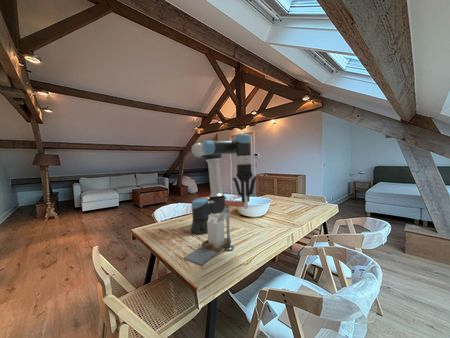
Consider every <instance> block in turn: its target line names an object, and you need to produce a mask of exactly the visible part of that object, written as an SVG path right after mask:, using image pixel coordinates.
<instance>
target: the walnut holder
mask: <svg viewBox="0 0 450 338" xmlns="http://www.w3.org/2000/svg"><path fill="white" fill-rule="evenodd" d="M230 243H231V244H232V239H231V238H230ZM225 246H227V237H225V242H224V243H223V244H221V245H220V246H214V245H211V244H208V239H206V240H205V241H203V242H202V243H201V247H202V248H205V249H208V250H211V251H214V252H217V253H220V252H222V251H223V250H225Z"/></svg>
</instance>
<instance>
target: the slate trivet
mask: <svg viewBox="0 0 450 338" xmlns="http://www.w3.org/2000/svg"><path fill="white" fill-rule="evenodd" d="M217 255H219V252H216V251H213V250H209V249H206V248H203V247H202V246H200V247H198V248H196V249H195V250H193V251H192V252H190V253H188V254H187V255H185V256H184V257H183V259H184V260H186V261H189V262H192V263H193V264H196V265H199V266H204V265H205V264H206V263H208V262H209V261H211V259H213V258H214V257H215V256H217Z"/></svg>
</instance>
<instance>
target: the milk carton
mask: <svg viewBox="0 0 450 338" xmlns="http://www.w3.org/2000/svg"><path fill="white" fill-rule="evenodd" d="M220 215H221V214H212V213H211V215H209V219H208V221H207V229H208V233H207V240H208V244H211V245H214V246H220V245H221V244H223V243H224V242H225V238H226V237H225V223H224V222H225V221H224V220H225V219H224V220H220Z"/></svg>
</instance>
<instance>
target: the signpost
mask: <svg viewBox="0 0 450 338" xmlns="http://www.w3.org/2000/svg"><path fill="white" fill-rule="evenodd" d="M225 207H226V209H225V210H224V212H223V213H220V214H219V215H220V220H225V224H226V238H227V246H228V248H231V246H232V245H231V244H232V242H231V243H230V239H231V229H230V227H231V226H230V215H231V209H230V207H231V208H233V207H235V208H237V207H238V208H244V202H242V200H229V199H227V201H225Z"/></svg>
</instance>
